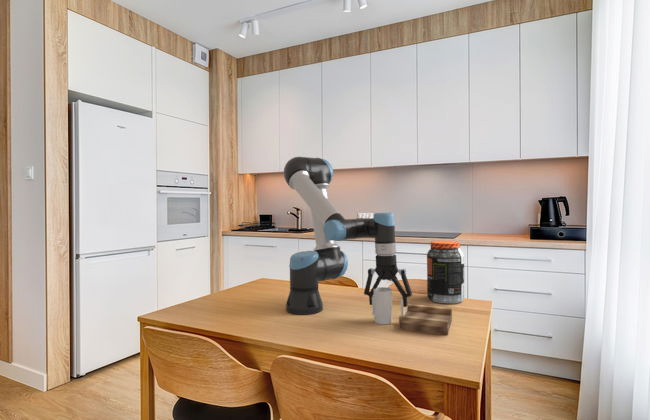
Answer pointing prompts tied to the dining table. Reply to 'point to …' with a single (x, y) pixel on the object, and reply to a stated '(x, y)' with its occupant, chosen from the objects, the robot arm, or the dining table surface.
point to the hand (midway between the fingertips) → (388, 314)
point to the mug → (382, 305)
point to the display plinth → (426, 328)
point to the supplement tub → (445, 272)
